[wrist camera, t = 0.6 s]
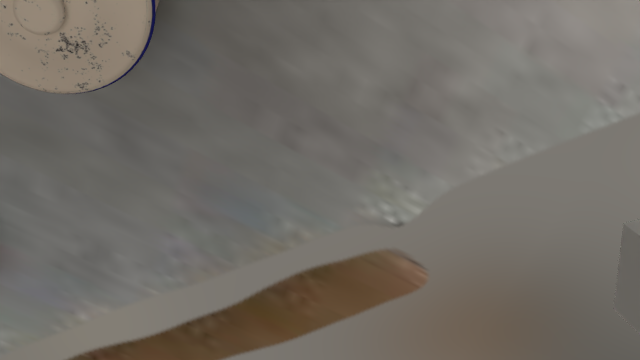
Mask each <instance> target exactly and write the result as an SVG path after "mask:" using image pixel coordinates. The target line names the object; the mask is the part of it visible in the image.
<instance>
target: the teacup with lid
mask: <svg viewBox="0 0 640 360" xmlns="http://www.w3.org/2000/svg"><path fill="white" fill-rule="evenodd" d="M158 3H159V0H0V73H1V74H2V75H4V76H6V77H7V78H9V79H11V80H13V81H15V82H17V83H19V84H22V85H24V86H27V87H30V88H33V89H36V90H40V91H45V92H51V93H61V94H77V93H85V92H90V91H94V90H98V89H101V88H104V87H106V86H108V85H110V84H112V83H114V82H116V81H118V80H119V79H121V78H122V77H123V76H125V75H126V74H127V73H128V72H129V71H131V70H132V69H133V68H134V66H135V65H136V64H137V63H138V62H139V60H140V59H141V58H142V56H143V54H144V53H145V51H146V49H147V47H148V45H149V42H150V40H151V37H152V34H153V29H154V24H155V13H156V10H157V7H158Z"/></svg>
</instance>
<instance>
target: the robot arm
mask: <svg viewBox="0 0 640 360" xmlns="http://www.w3.org/2000/svg"><path fill="white" fill-rule="evenodd" d="M613 309H614V310H615V311H616V312H617V313H618V314H619V315H620V316H621V317H622V318H623V319H624V320H625V321H627V323H628V324H629V325H631V327H632V328H633V329H634V330H636V332H638V334H640V219H638V220H634V221H630V222H626V223H623V231H622V240H621V248H620V257H619V265H618V273H617V282H616V290H615V298H614V307H613Z"/></svg>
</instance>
